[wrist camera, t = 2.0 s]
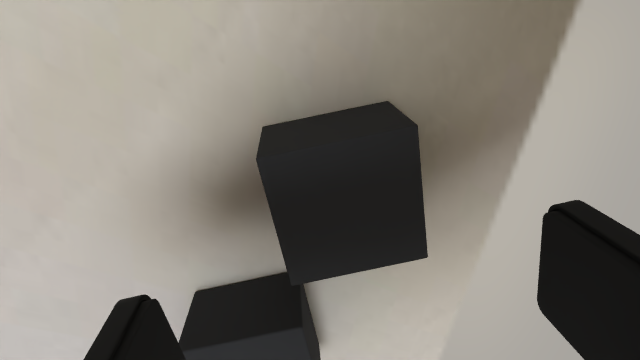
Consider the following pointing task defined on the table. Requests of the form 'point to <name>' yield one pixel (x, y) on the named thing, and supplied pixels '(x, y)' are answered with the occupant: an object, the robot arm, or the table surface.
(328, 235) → the black block
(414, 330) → the table surface
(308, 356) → the black square block
